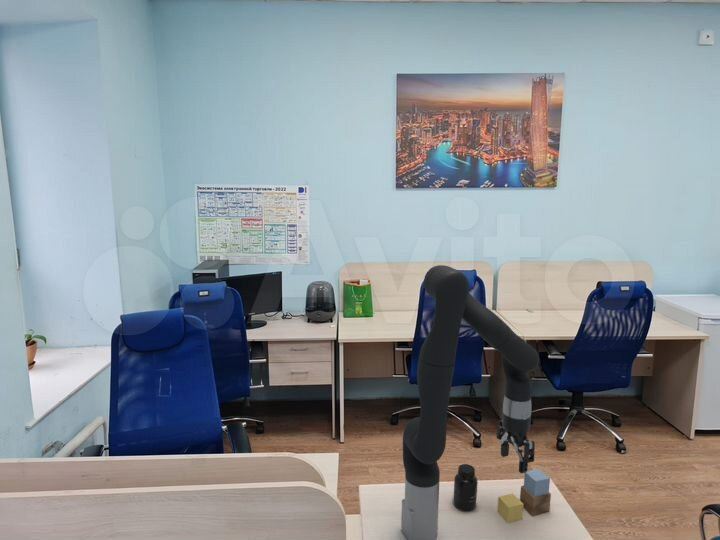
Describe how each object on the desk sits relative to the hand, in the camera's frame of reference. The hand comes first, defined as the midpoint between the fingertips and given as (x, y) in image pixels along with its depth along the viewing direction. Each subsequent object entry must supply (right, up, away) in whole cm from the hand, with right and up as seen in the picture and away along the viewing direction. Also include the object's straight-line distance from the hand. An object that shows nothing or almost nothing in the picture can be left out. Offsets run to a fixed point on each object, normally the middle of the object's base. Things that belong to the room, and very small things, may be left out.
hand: (513, 463), depth 143 cm
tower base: (+8, -16, +7) cm, 19 cm away
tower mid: (+8, -10, +5) cm, 14 cm away
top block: (0, -16, +3) cm, 17 cm away
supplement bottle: (-12, -16, +8) cm, 21 cm away
